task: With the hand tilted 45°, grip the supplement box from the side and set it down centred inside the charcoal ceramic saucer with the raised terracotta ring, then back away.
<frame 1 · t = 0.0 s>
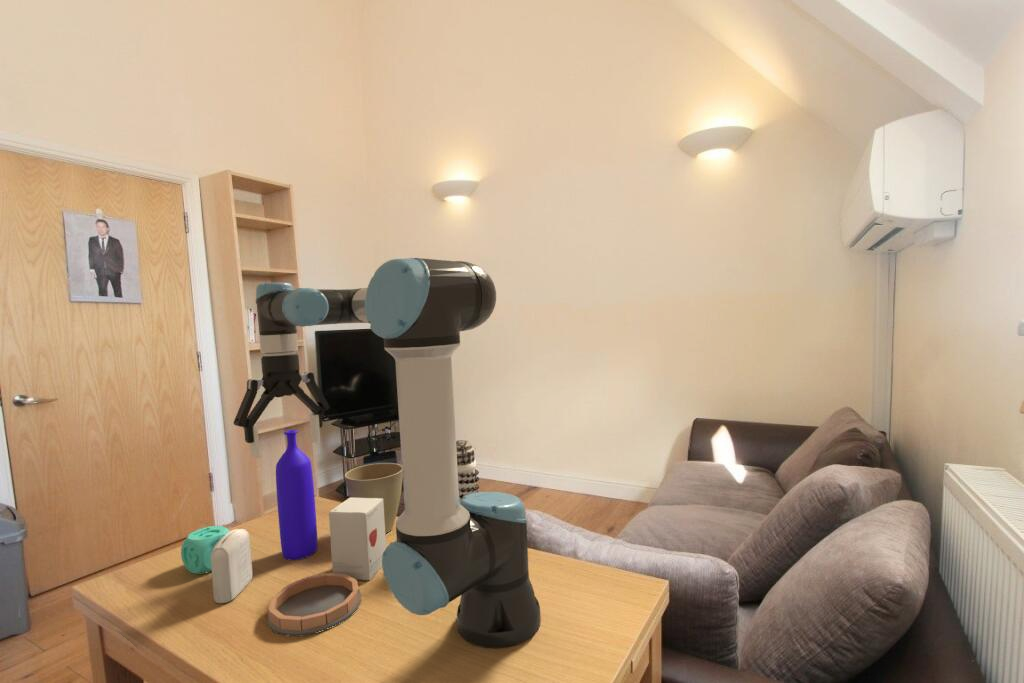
hand: (287, 449, 113), 28 cm above the table, tool pointing down, fingers open, 13 cm apart
mint green rounded piece: (209, 566, 120), on the table
supplement box: (361, 570, 114), on the table
bottle: (300, 553, 124), on the table
decorative candle: (463, 544, 124), on the table
photo printer: (234, 591, 108), on the table
plant pot: (378, 530, 135), on the table
ringed saucer: (316, 608, 99), on the table
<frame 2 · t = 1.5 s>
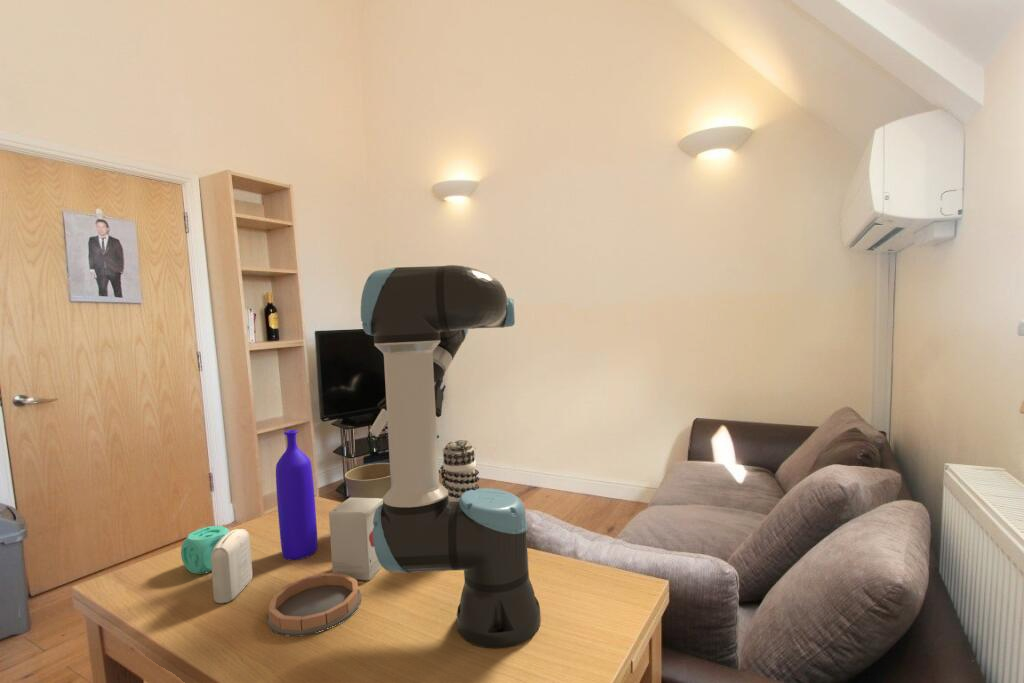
hand: (392, 436, 121), 28 cm above the table, tool tilted 45°, fingers open, 13 cm apart
nothing on the table moved.
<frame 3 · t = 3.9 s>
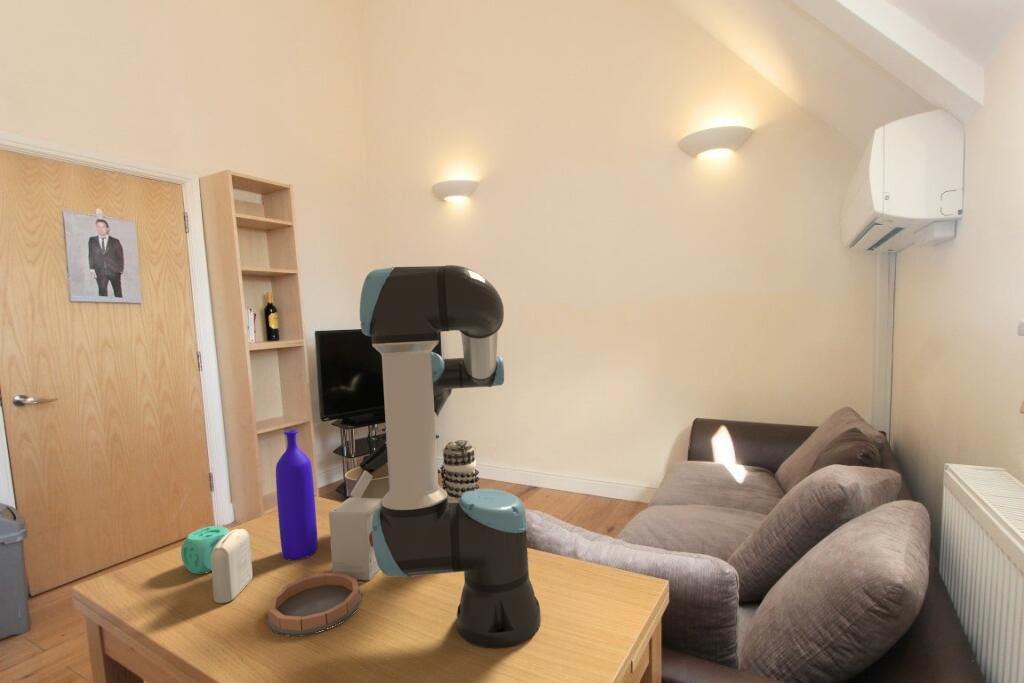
hand: (372, 503, 118), 13 cm above the table, tool tilted 45°, fingers open, 13 cm apart
nothing on the table moved.
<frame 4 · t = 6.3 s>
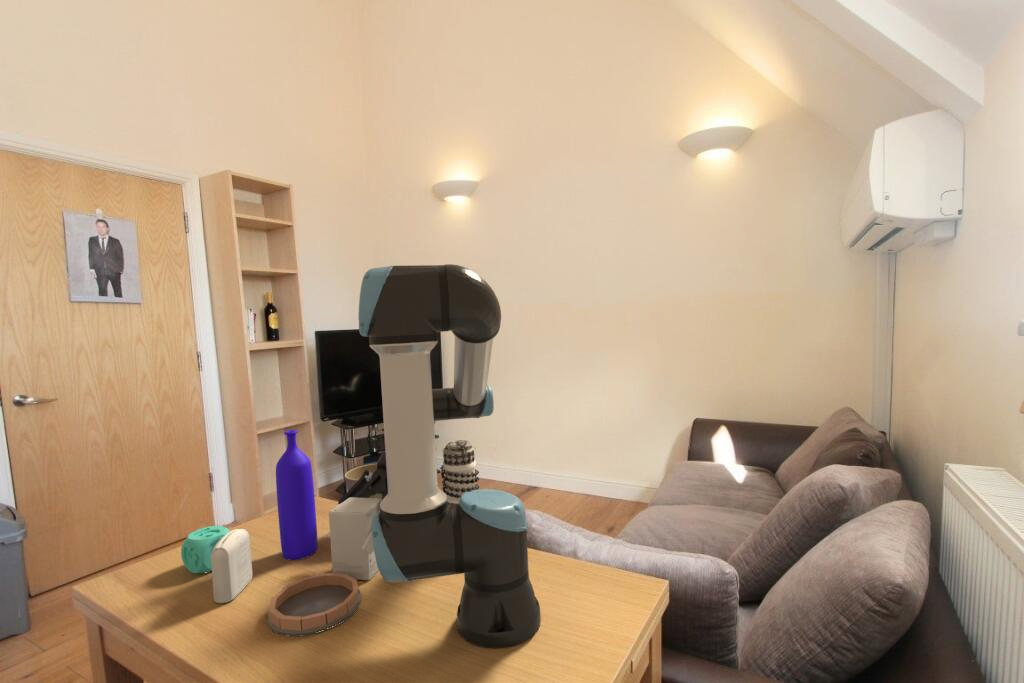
hand: (348, 545, 111), 7 cm above the table, tool tilted 45°, fingers closed on supplement box, 11 cm apart
supplement box: (361, 570, 114), on the table, touching gripper
everything else where it was.
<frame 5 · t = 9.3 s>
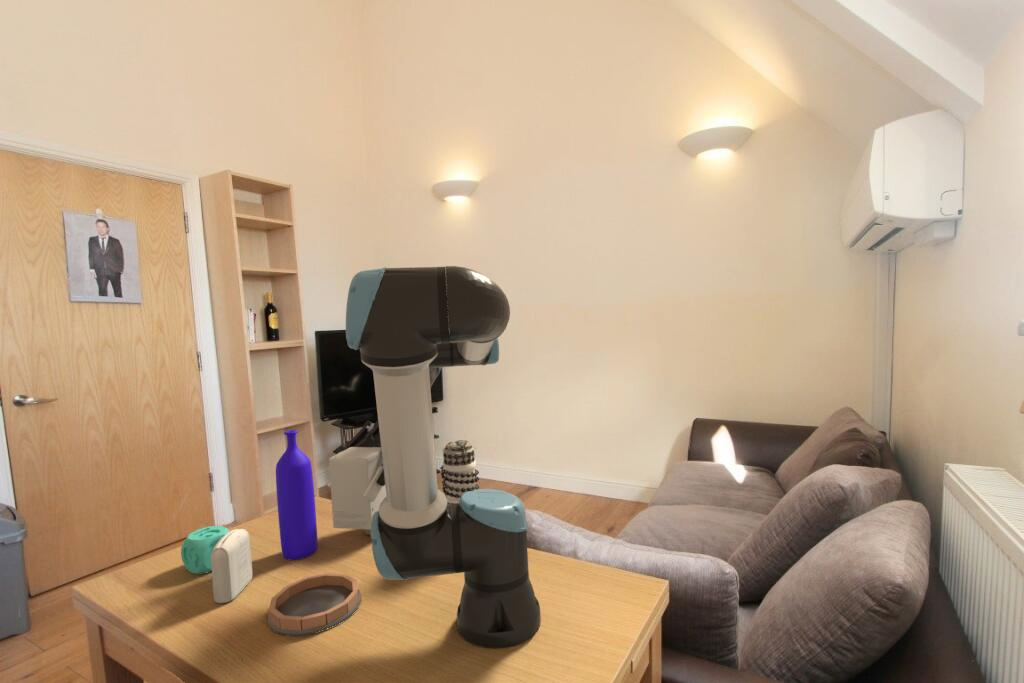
hand: (349, 493, 106), 20 cm above the table, tool tilted 45°, fingers closed on supplement box, 11 cm apart
supplement box: (362, 521, 109), point 13 cm above the table, touching gripper
everything else where it was.
when the fingers open (10 cm above the table, at t = 12.7 s): supplement box drops 2 cm, resting on ringed saucer.
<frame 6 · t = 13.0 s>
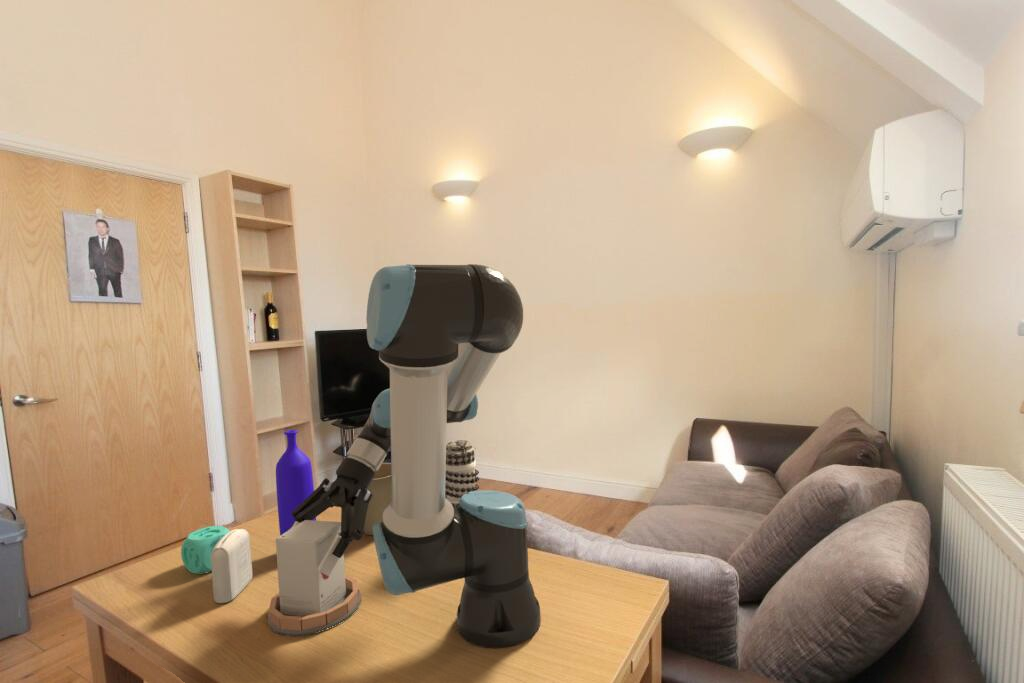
hand: (301, 564, 97), 10 cm above the table, tool tilted 45°, fingers open, 13 cm apart
supplement box: (315, 604, 100), point 1 cm above the table, touching ringed saucer
everything else where it was.
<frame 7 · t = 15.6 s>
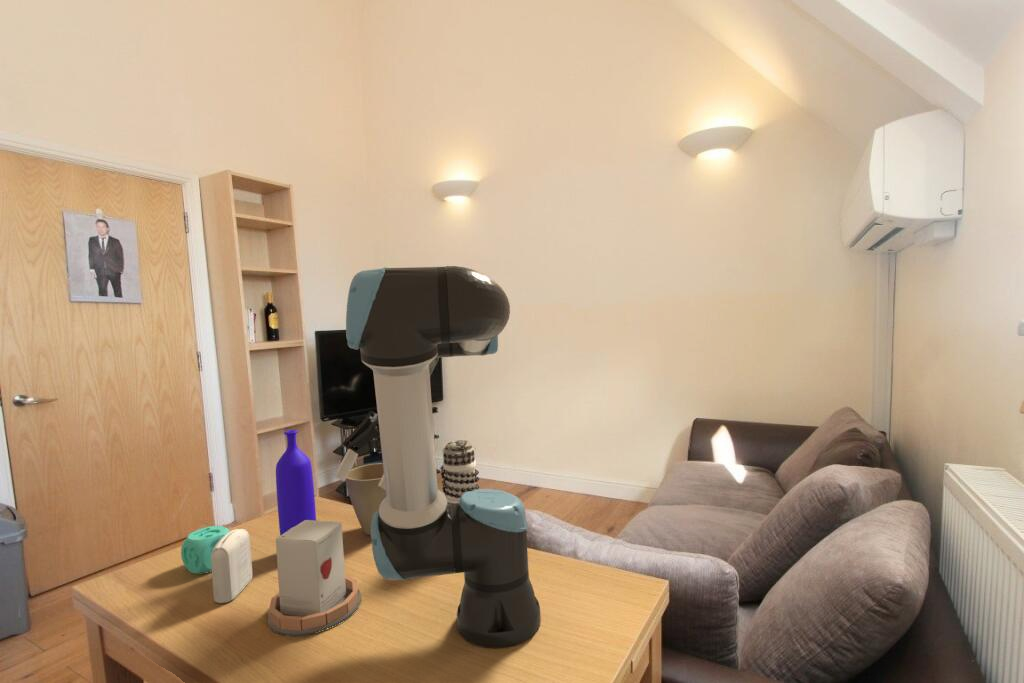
hand: (360, 483, 108), 21 cm above the table, tool tilted 40°, fingers open, 13 cm apart
nothing on the table moved.
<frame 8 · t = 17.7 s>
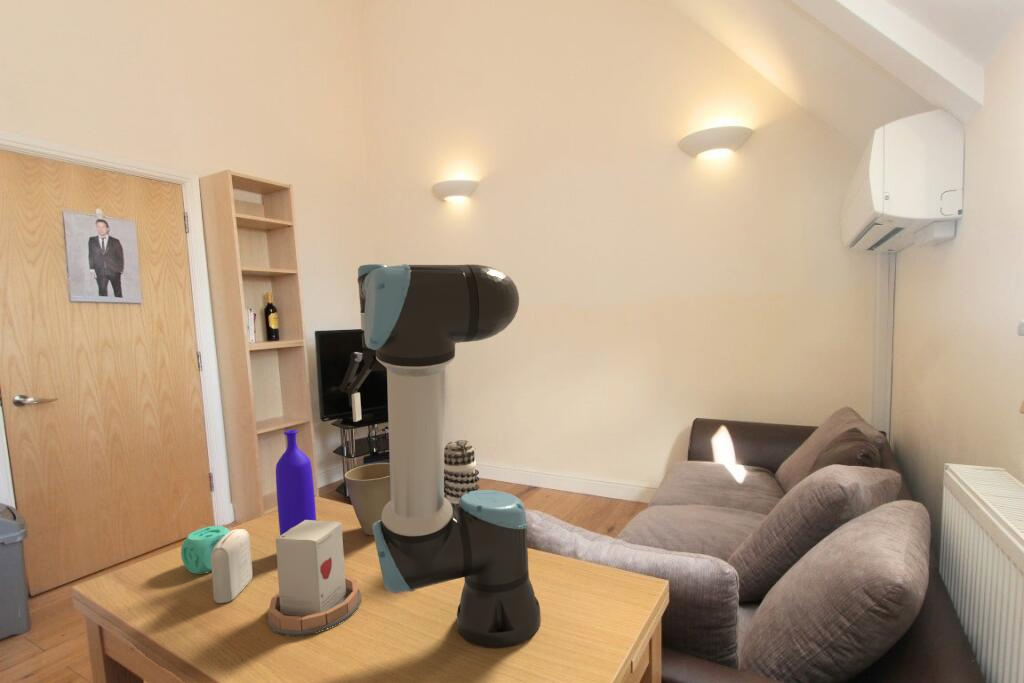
hand: (384, 420, 121), 32 cm above the table, tool pointing down, fingers open, 13 cm apart
nothing on the table moved.
at the end: supplement box 0.3 cm off-centre on the ringed saucer, point 0.6 cm above the ringed saucer's base; supplement box tilted 0°; the gripper is holding nothing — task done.
